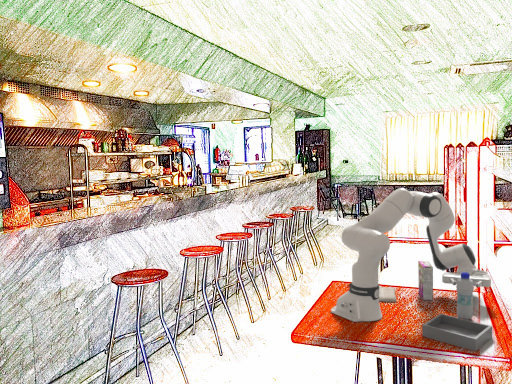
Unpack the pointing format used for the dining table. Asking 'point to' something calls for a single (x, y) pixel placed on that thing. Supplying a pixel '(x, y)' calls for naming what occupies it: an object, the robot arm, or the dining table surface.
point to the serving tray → (457, 331)
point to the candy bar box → (425, 280)
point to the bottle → (465, 296)
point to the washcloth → (387, 294)
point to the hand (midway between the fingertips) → (465, 284)
